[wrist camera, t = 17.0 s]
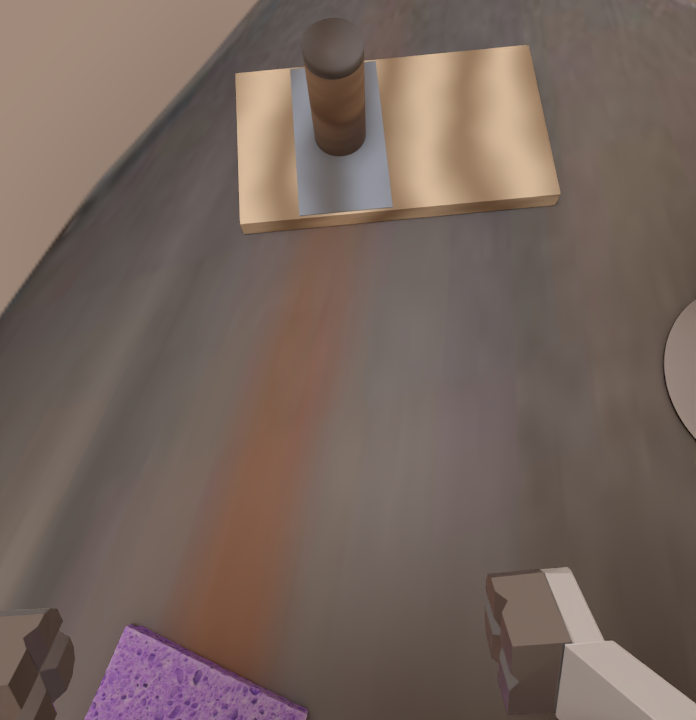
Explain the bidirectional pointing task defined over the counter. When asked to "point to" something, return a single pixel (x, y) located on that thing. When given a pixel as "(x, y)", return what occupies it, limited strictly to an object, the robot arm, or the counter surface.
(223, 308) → the counter surface
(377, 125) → the plywood board
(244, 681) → the sponges
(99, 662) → the counter surface
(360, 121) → the peg
